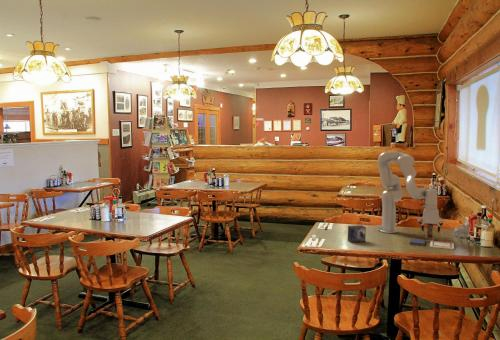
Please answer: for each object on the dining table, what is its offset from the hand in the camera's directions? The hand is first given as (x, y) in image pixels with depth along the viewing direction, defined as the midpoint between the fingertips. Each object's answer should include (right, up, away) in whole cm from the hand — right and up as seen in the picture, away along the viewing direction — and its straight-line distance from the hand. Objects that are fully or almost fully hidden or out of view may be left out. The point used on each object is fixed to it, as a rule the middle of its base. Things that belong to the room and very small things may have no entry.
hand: (430, 231), depth 290 cm
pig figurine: (+27, -5, +9) cm, 29 cm away
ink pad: (-12, -7, -7) cm, 15 cm away
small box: (-52, -7, -2) cm, 52 cm away
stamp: (0, -6, +1) cm, 6 cm away
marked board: (+2, -7, -13) cm, 15 cm away
